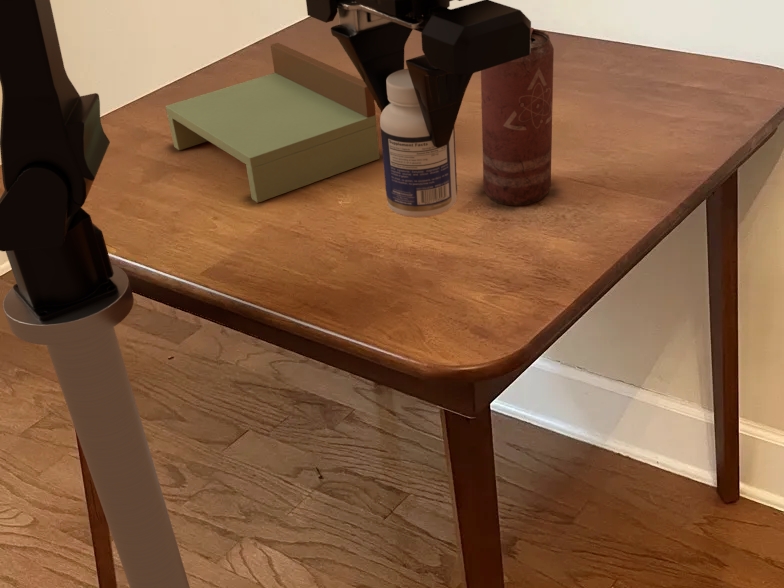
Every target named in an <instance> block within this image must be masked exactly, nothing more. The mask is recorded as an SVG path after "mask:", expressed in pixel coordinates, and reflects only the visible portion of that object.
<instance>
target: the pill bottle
mask: <svg viewBox="0 0 784 588" xmlns="http://www.w3.org/2000/svg"><path fill="white" fill-rule="evenodd" d="M386 85H387V96H388V100H389V102H390V104H389V105H387V106H386V107H385V108H384V110H383V111H382V112H381V114H380V117H379V125H380V127H379V129H380V139H381V148H382V149H381V151H382V152H381V153H382V164H383V172H384V181H385V182H384V185H385V194H386V196H385V197H386V203H387V206H388V208H389V209H390V210H391V211H392V212H393V213H395V214H396V215H399V216H401V217H406V218H415V219H421V218H422V219H423V218H431V217H436V216H439V215H442V214H444V213H446V212H448V211H450V210H451V209H452V208H453V207H454V206H455V205H456V203H457V199H458V181H457V180H458V177H457V175H458V174H457V157H456V135H455V134H456V133H455V127H454V128H453V131H452V135H451V138H450V141H449V143H448V144H447V145H445V146H443V147H440V148H437V147H435V146H434V145H433V143H432V140H431V138H430V135H429V133H428V130H427V127H426V124H425V121H424V118H423V115H422V112H421V108H420V105H419V102H418V99H417V96H416V93H415V89H414V86H413V84H412V80H411V77H410V74H409V71H408V68H404V69H403V70H399V71H396V72H394V73H392V74H390V75H389V76H388V77H387V80H386Z"/></svg>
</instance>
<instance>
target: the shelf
mask: <svg viewBox="0 0 784 588" xmlns="http://www.w3.org/2000/svg"><path fill="white" fill-rule="evenodd" d="M270 51H271V58H272V64H273V71H274V72H272V73H269V74H266V75H262V76H259V77H256V78H253V79H249V80H246V81H243V82H240V83H236V84H233V85H230V86H227V87H226V86H225V87H224V88H220V89H217V90H213V91H209V92H207V93H203V94H200V95H196V96H193V97H190V98H187V99H184V100H180V101H176V102H174V103H171V104H168V105H165V112H166V115H167V120H168V124H169V129H170V134H171V139H172V144H173V147H174V148H175V149H176V150H177V151H182V150H185V149H189V148H191V147H194V146H197V145H201V144H204V143H206V142H209V143H211V144H212V145H213V146H216V147H217V148H218V149H220V150H222V151H224V152H225V153H227V154H229V155H230V156H231V157H233V158H235V159H236V160H238V161H239V162H241V163H243V164H245V168H246V174H247V179H248V184H249V190H250V197H251V199H252V201H254V202H256V203H257V204H259V203H262V202H265V201H268V200H271V199H273V198H275V197H278V196H281V195H284V194H286V193H289V192H292V191H295V190H297V189H300V188H303V187H306V186H308V185H311V184H314V183H317V182H320V181H322V180H326V179H327V178H330V177H333V176H335V175H338V174H341V173H344V172H347V171H350V170H353V169H355V168H358V167H361V166H364V165H366V164H369V163H371V162H374V161H375V162H376V161H378V160H380V157H381V156H380V147H379V137H378V125H377V124H378V123H377V115H376V102H375V100H374V98H373V96H372V95H371V93H370V91H369V89H368V88H367V86H366V84H365V82H364V81H363V79H362V78H359V77H356V76H355V75H352V74H349V73H347V72H345V71H343V70H340V69H338V68H336V67H334V66H331V65H329V64H327V63H325V62H323V61H321V60H318V59H316V58H314V57H311V56H308V55H307V54H304V53H302V52H300V51H298V50H296V49H293V48H291V47H289V46H286V45H284V44H282V43H280V42H275V43H272V44H270Z"/></svg>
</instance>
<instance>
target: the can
mask: <svg viewBox="0 0 784 588" xmlns="http://www.w3.org/2000/svg"><path fill="white" fill-rule="evenodd" d="M554 51H555V50H554V46H553V43H552V41H551V39H550V35H549V34H548V33H547V32H545V31H543V30H539V29H535V28H534V27H532V26H531V52H530V55H528V56H525V57H522V58H519V59H516V60H513V61H509V62H506V63H503V64H500V65H497V66H494V67H491V68H488V69H485V70H482V71H480V88H481V89H480V91H481V93H480V94H481V97H480V99H481V139H482V181H483V182H482V183H483V192H484V193H485V194H486V195H487V197H488V198H489V199H490V200H491V201H492V202H495V203H496V204H499V205H505V206H514V207H516V206H517V207H518V206H526V205H532V204H534V203H537V202H539V201H541V200H542V199H544V198H545V197H546V196H547V194H548V193H549V191H550V189H551V187H552V186H551V185H552V150H553V149H552V148H553V144H552V143H553V141H552V139H553V98H554V97H553V95H554V56H555V55H554Z"/></svg>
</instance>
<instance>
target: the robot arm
mask: <svg viewBox="0 0 784 588" xmlns="http://www.w3.org/2000/svg"><path fill="white" fill-rule="evenodd" d="M453 1H454V0H305V4H306V12H307V16H309V17H310V18H313V19H315V20H318V21H320V22H323V23H325V24H326V23H331V22H334V20H335V18H336V16H337V15H338V24H337V25H333V26H331V27H330V34H331V35H332V37H334V38H336V39H337V41H338V42H339V44H340V45H341V47H342V49H343V50H344V52H345V54H346V55H347V56H348V58H349V59H350V61H351V63H352V64H353V66H354V68H355V69H356V71H357V72H358V74H359V75H360V77H361V80H363V81H364V82H365V84H366V86H367V88H368V89H369V91H370V93H371V95H372V96H373V98H374V102H375V104H376V105H377V107H378V109H379V110H380V112H381V113H382V111H383V110H384V108H385V107H386V106H387V105H389V104H390V102H389V100H388V96H387V85H386V80H387V77H388V76H389V75H390V74H392V73H394V72H396V71H399V70H403V69H405V65H406V69H408V71H409V74H410V77H411V80H412V84H413V86H414V89H415V93H416V96H417V99H418V102H419V105H420V108H421V112H422V115H423V118H424V121H425V124H426V127H427V130H428V133H429V135H430V138H431V140H432V143H433V145H434V146H435V147H437V148H440V147H443V146H445V145H447V144H448V143H449V141H450V138H451V135H452V131H453V128H454V129H455V125H456V121H457V119H458V115H459V113H460V109H461V106H462V103H463V99H464V96H465V94H466V91H467V89H468V86H469V84H470V82H471V79H472V77H473V75H474V74H475V73H479V72H481V71H482V70H485V69H488V68H491V67H494V66H497V65H500V64H503V63H506V62H509V61H513V60H516V59H519V58H522V57H525V56H528V55H530V52H531V27H532V21H531V19H529V17H528V16H527V15H525V13H524V12H523V11H522V10H521V9H518V8H515V7H511V6H508V5H505V4H502V3H500V2H497V1H493V0H479V1H476V2H472V3H469V4H465V5H462V6H458V7H455V8H450V7H451V3H450V2H453ZM457 1H459V2H461V1H463V0H457ZM413 30H414V31H417V32H419V33H420V34H421V36H420V37H421V51H422V52H423V54H422V55H419V56H418V55H417V56H415V57H412V58H409V59H406V60H405V46H406V43H407V42H408V40H409V37H410V36H411V34H412V31H413ZM64 63H65V62H64V60H63V55H62V49H61V45H60V40H59V36H58V31H57V27H56V22H55V17H54V13H53V8H52V3H51V0H0V86H1V94H2V95H1V96H2V97H1V112H0V113H1V116H0V117H1V118H0V163H1V176H2V184H3V189H4V190H3V192H2V194H1V196H0V252H5V253H6V257H7V259H8V263H9V265H10V268H11V271H12V274H13V276H14V279H15V283H14V285H13V286H12V287H13V289H14V292H15V293H16V294H17V296H18V297H19V298H20V299H21V300H22V301H23V303H24V304H25V305H26V306H27V307H28V308H29V309H30V311H31V312H32V313H33V314H34V315H35V316H36V318H37V319H38V320H39V321H48V320H50V319H53V318H55V317H58V316H61V315H63V314H66V313H69V312H71V311H74V310H76V309H79V308H82V307H84V306H87V305H90V304H92V303H95V302H97V301H100V300H103V299H105V298H108V297H111V296H113V295H115V294H117V293H118V292H119V291H118V287H117V285H116V284H114V283H113V282H112V281H111V280H110V279H109V278H111V277H113V274H114V272H113V269H112V265H111V264H112V263H111V258H110V255H109V251H108V248H107V244H106V241H105V237H104V234H103V231H102V230H101V228H99V227H98V226H97V225H96V224H94V222H93V221H92V217H91V215H90V214H89V213H88V212H87V211H86V210H85V209H84V208H83V206H84V205H85V203H86V201H87V198H88V196H89V193H90V191H91V188H92V186H93V184H94V181H95V179H96V177H97V174H98V172H99V170H100V167H101V165H102V162H103V160H104V158H105V155H106V153H107V151H108V148H109V146H110V142H111V141H110V139H109V138H108V136H107V135H106V133H105V132H104V131H105V130H104V128H103V124H102V122H101V121H102V120H101V101H100V95H99V94H98V93H96V92H94V93H89V94H85V95H80V94H79V91H77V89H76V87H75V85H74V84H73V82H72V81H71V80H70V78H69V76H68V74H67V71H66V69H65V64H64Z"/></svg>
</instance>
